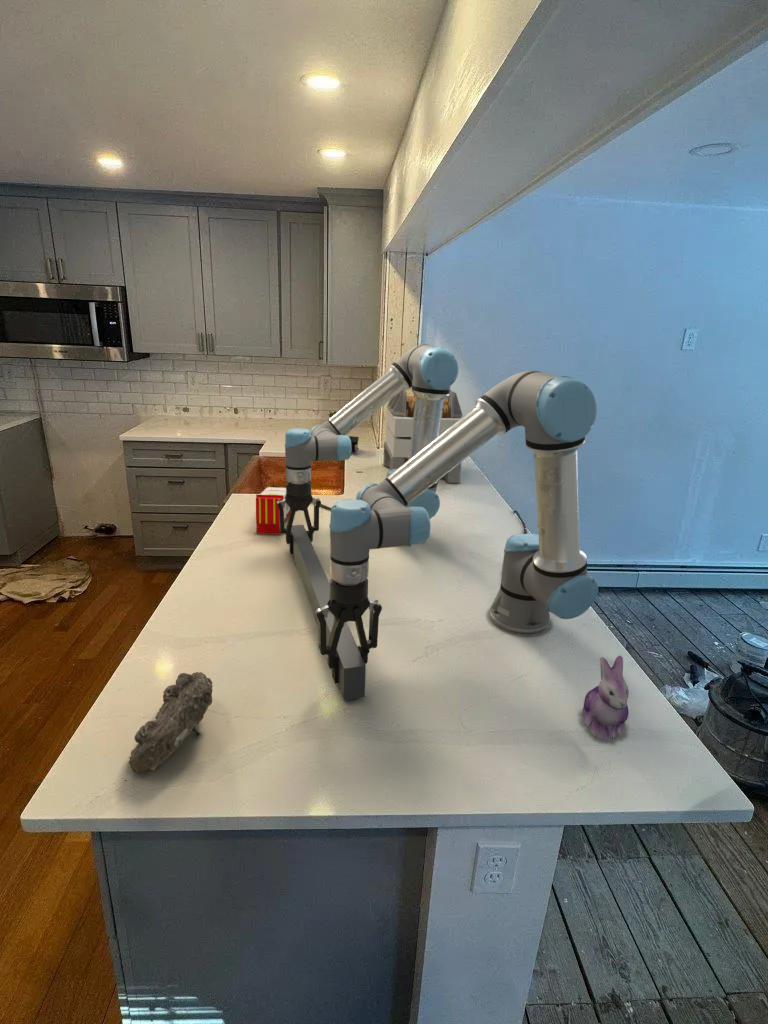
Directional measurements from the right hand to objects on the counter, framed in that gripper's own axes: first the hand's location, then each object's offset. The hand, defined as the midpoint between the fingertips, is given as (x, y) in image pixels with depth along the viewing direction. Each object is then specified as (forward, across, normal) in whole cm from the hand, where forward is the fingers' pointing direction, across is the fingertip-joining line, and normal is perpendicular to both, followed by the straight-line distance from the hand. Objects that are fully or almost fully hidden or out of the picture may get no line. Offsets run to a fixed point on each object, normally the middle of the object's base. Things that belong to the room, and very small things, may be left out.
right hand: (347, 677), depth 119 cm
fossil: (+1, -33, -7) cm, 34 cm away
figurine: (+2, +46, -24) cm, 52 cm away
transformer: (+2, +71, +151) cm, 167 cm away
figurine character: (+2, +48, +196) cm, 202 cm away
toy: (+2, -4, +99) cm, 99 cm away
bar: (+1, 0, +33) cm, 33 cm away
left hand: (0, 0, +66) cm, 66 cm away
